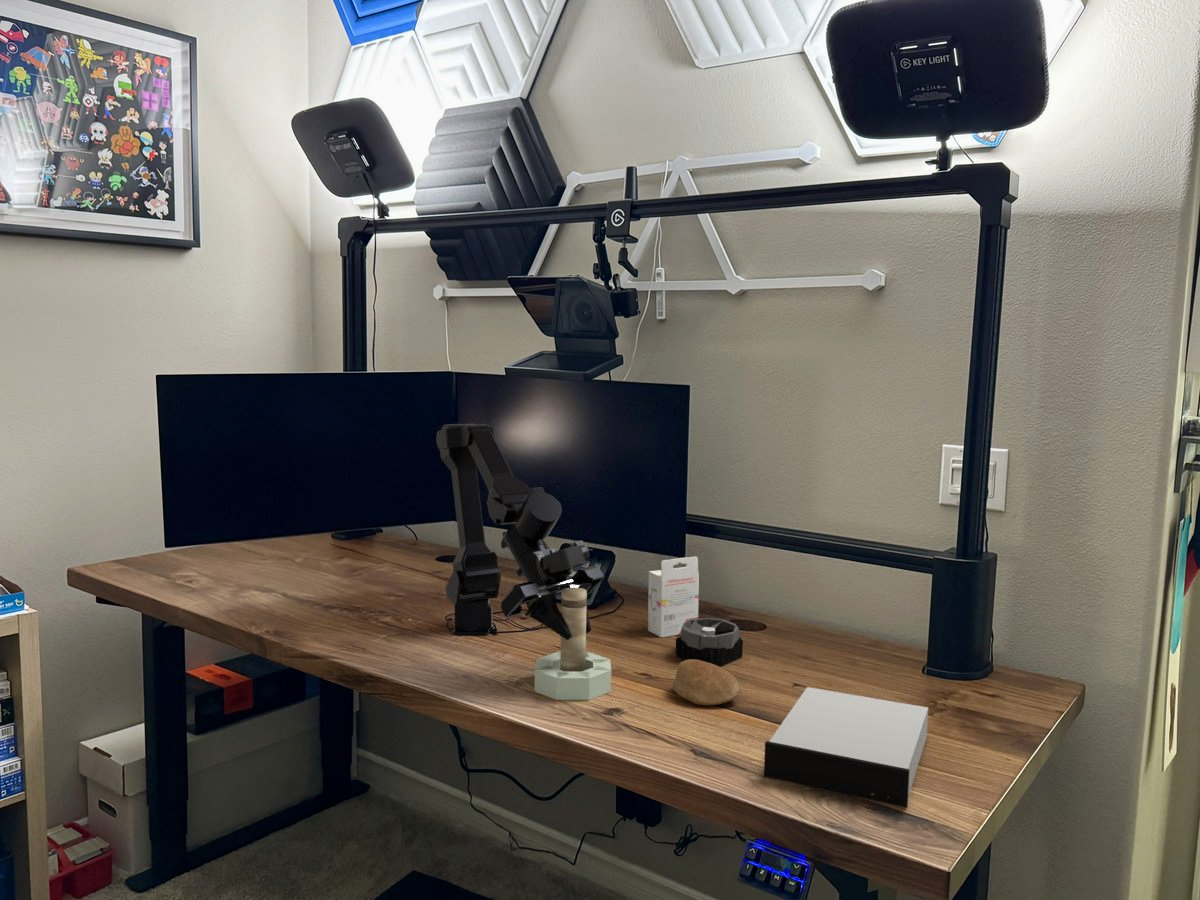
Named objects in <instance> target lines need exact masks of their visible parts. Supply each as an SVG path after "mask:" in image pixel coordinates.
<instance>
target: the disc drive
mask: <svg viewBox="0 0 1200 900" xmlns="http://www.w3.org/2000/svg"><path fill="white" fill-rule="evenodd" d="M928 723H929V707H927V706H923V705H916V704H909V703H905V702H904V703H903V702H897V701H892V700H885V699H879V698H875V697H868V696H863V695H857V694H851V693H846V692H845V693H844V692H840V691H834V690H826V689H822V688H814V687H810V686H809V687H808V686H807V687H806V688H805V690H804V691H803V692H802V694H801V695H800V696H799V698H798V699H797V701H796V703H795V704H794V705H793V707H792V708H791V710H790V711H789V712H788V714H787V715H786V717H785V718H784V720H783V721H782V722H781V724H780V725H779V727H778V728H777V730H776V731H775V732H774V734H773V735H772V737H771V738H770V739H769V741H767V740H766V741H765V743H764V761H763V762H764V766H763V767H764V768H763V777H766V778H770V779H775V780H780V781H785V782H789V783H793V784H798V785H803V786H807V787H812V788H816V789H821V790H825V791H829V792H835V793H839V794H844V795H848V796H851V797H857V798H862V799H865V800H871V801H874V802H878V803H879V802H880V803H883V804H888V805H894V806H897V807H902V808H908V804H909V796H910V793H911V790H912V786H913V782H914V780H915V776H916V774H917V770H918V766H919V764H920V760H921V757H922V753H923V750H924V748H925V744H926V741H927V739H928Z"/></svg>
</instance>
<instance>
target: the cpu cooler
mask: <svg viewBox="0 0 1200 900" xmlns="http://www.w3.org/2000/svg"><path fill="white" fill-rule="evenodd" d="M743 645H744V640H742V637H740V628H739V626H738V625H737V624H736V623H734V622H731V621H728V620H725V619H719V618H712V617H709V618H705V617H704V618H698V619H691V620H689V621H687V622H685V623H683V626H682V628H681V634H680V636H678V637H675V656H676V658H678V659H681V660H683V661H685V660H690V659H695V660H700V661H704V662H708V663H711V664H714V665H717V666H719V667H721V668H722V667H724V666H725V665H728V664H729V663H732V662H735V661H736V660H739V659H742V658H743V650H744V649H743Z"/></svg>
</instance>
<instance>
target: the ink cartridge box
mask: <svg viewBox="0 0 1200 900" xmlns="http://www.w3.org/2000/svg"><path fill="white" fill-rule="evenodd" d="M660 563H661V565H660V566H661V567H660V568H661V570H649V571H648V591H647V592H648V596H647V597H648V598H647V600H648V601H647V604H648V606H647V607H648V608H647V609H648V610H647V611H648V613H647V615H648V616H647V621H648V622H647V631H648V632H650V633H652V634H654V635H655V636H657V637H659V638H667V637H673V636H678V635H681V628H682V626H683V623H685V622H687V621H689V620H691V619H699V590H700V589H699V586H700V585H699V583H700V582H699V581H700V579H699V577H700V574H699V560H698V556H689V557H680V558H679V557H678V558H672V559H663V560H661V562H660ZM679 563H680V564H681V565H685V566H683V567H675V568H674V566H676V565H679Z"/></svg>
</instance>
